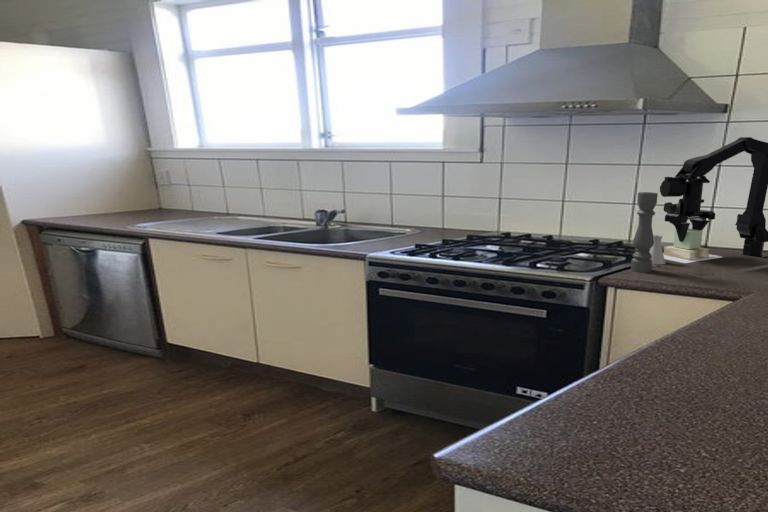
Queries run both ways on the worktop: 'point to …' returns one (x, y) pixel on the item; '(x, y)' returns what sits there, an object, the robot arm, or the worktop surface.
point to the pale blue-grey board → (689, 260)
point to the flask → (657, 252)
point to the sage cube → (689, 239)
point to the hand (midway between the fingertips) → (687, 240)
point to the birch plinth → (686, 253)
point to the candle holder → (644, 233)
